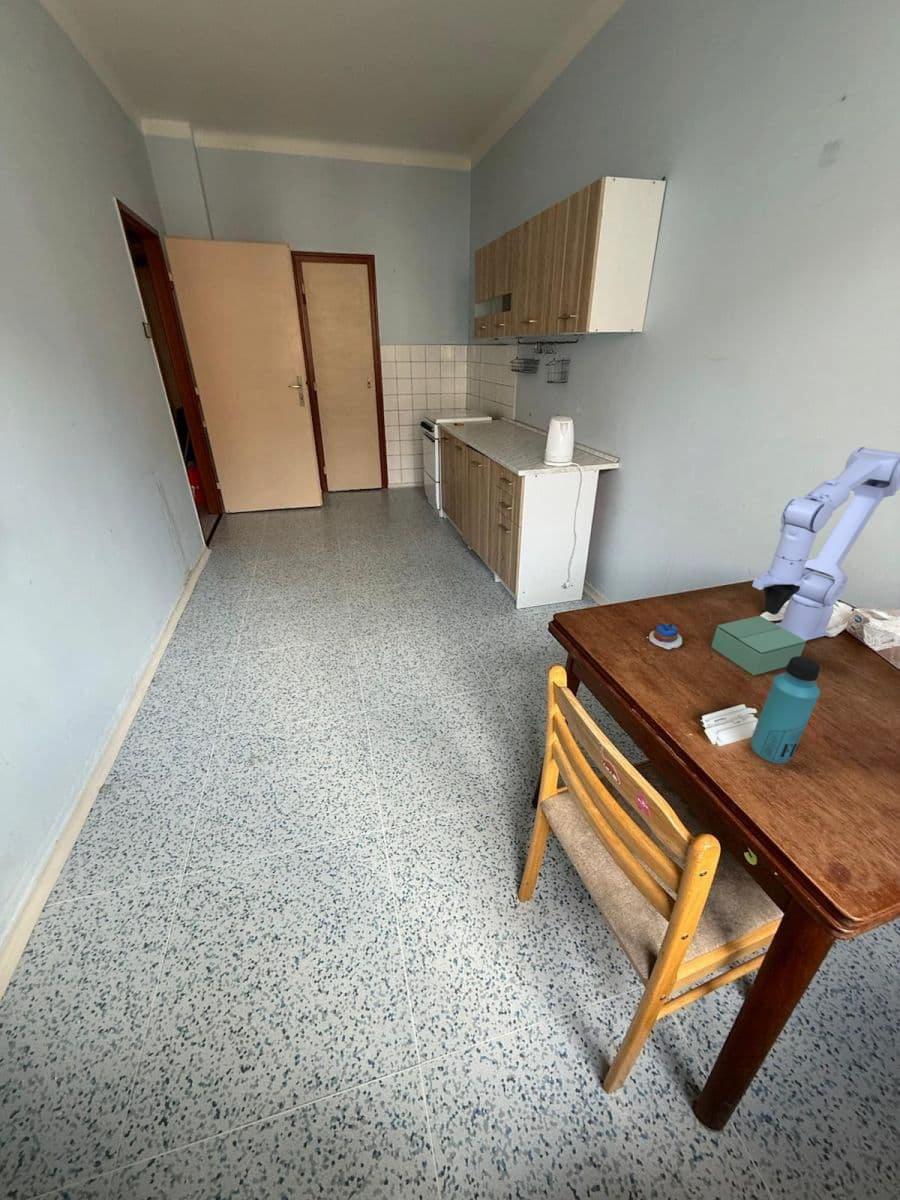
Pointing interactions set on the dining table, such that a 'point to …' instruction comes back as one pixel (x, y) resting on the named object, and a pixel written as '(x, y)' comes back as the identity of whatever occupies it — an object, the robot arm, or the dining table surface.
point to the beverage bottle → (786, 711)
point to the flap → (772, 640)
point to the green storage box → (747, 656)
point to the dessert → (666, 636)
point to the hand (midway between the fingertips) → (771, 612)
